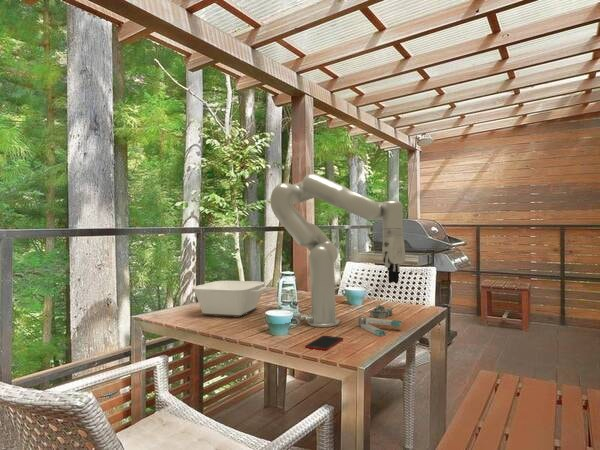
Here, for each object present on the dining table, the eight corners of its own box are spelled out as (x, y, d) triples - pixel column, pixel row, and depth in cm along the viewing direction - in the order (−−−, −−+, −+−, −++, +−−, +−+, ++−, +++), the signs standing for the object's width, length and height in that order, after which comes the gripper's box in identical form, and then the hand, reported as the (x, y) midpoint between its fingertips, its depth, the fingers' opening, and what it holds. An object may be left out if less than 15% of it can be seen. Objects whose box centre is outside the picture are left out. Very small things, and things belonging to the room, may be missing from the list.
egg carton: (379, 313, 186) (379, 303, 186) (395, 315, 181) (395, 305, 181) (367, 317, 178) (367, 307, 178) (383, 319, 173) (382, 309, 173)
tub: (181, 317, 183) (180, 288, 183) (211, 306, 209) (211, 280, 209) (252, 321, 173) (252, 290, 173) (275, 308, 199) (275, 281, 199)
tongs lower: (357, 325, 162) (357, 317, 162) (363, 325, 163) (363, 316, 163) (378, 336, 146) (378, 326, 146) (385, 335, 147) (385, 326, 147)
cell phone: (344, 340, 143) (344, 337, 143) (326, 352, 130) (326, 349, 130) (323, 338, 147) (323, 335, 147) (304, 349, 134) (304, 346, 134)
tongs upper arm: (365, 322, 159) (365, 318, 159) (368, 321, 161) (368, 317, 161) (399, 326, 152) (399, 322, 152) (401, 325, 154) (401, 321, 154)
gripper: (391, 234, 151) (392, 285, 151) (411, 232, 163) (412, 280, 163) (373, 234, 156) (374, 283, 156) (393, 232, 168) (394, 278, 168)
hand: (393, 281), depth 160 cm, fingers closed
